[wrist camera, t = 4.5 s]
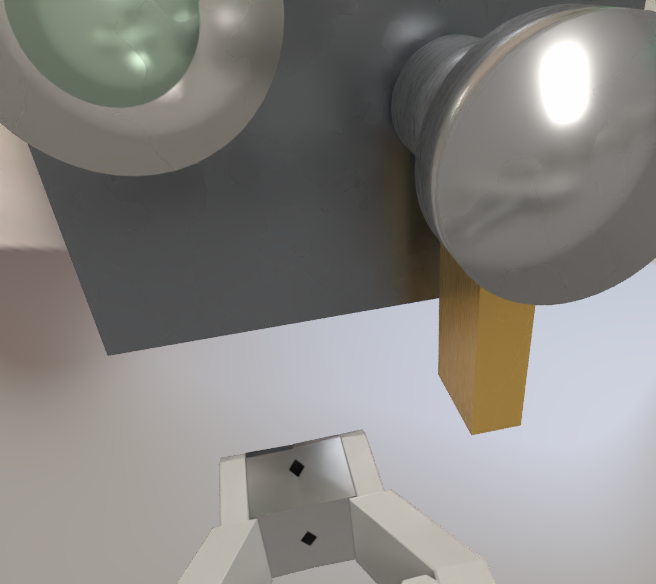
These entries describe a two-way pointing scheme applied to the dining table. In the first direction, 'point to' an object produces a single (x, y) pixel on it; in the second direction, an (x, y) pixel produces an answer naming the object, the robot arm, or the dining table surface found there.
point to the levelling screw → (529, 181)
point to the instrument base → (230, 154)
